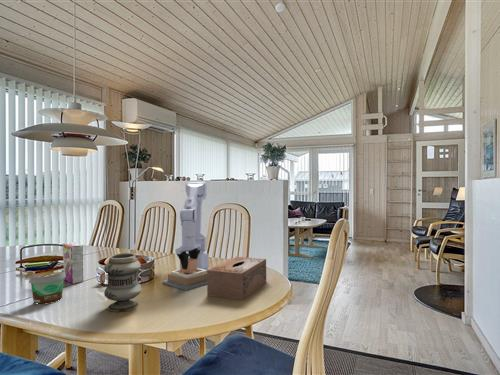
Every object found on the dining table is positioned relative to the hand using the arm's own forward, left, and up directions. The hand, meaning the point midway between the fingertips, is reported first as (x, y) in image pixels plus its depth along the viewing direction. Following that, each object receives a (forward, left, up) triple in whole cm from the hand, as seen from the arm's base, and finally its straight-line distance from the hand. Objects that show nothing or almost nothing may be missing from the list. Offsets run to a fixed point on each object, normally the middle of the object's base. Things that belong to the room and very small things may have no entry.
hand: (189, 267), depth 144 cm
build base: (0, 0, -6) cm, 6 cm away
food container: (+47, -21, -7) cm, 52 cm away
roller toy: (+23, -27, -7) cm, 36 cm away
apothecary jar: (+33, +5, -7) cm, 34 cm away
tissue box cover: (-8, +22, -7) cm, 24 cm away
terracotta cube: (0, 0, -2) cm, 2 cm away
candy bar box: (+31, -43, -7) cm, 53 cm away
